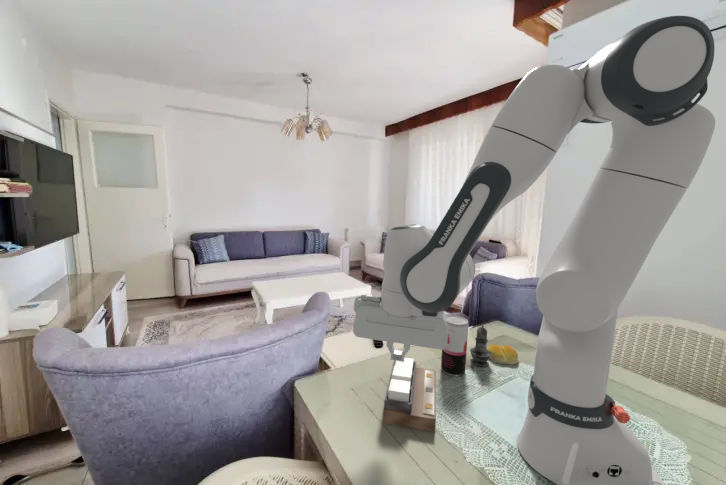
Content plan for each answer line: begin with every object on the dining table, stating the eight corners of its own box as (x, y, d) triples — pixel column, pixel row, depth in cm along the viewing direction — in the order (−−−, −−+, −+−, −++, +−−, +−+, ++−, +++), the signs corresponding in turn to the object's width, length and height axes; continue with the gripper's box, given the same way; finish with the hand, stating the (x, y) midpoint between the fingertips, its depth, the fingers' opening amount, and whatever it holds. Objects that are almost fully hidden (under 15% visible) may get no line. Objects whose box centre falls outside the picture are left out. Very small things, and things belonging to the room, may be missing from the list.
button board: (434, 380, 83) (435, 363, 82) (435, 432, 65) (436, 410, 64) (393, 374, 85) (394, 357, 85) (382, 422, 67) (383, 401, 66)
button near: (410, 391, 71) (410, 381, 70) (408, 404, 67) (408, 393, 66) (390, 388, 72) (391, 378, 71) (388, 400, 68) (388, 390, 67)
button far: (413, 367, 83) (413, 358, 82) (412, 376, 78) (412, 367, 78) (396, 365, 84) (397, 356, 83) (394, 374, 79) (395, 365, 79)
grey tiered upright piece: (486, 358, 95) (490, 321, 93) (492, 369, 89) (496, 329, 87) (467, 357, 95) (469, 320, 94) (471, 367, 90) (474, 328, 88)
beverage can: (470, 373, 87) (473, 322, 84) (451, 378, 84) (454, 326, 82) (454, 362, 93) (457, 314, 90) (436, 366, 90) (439, 317, 88)
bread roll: (483, 350, 100) (484, 338, 100) (513, 354, 99) (514, 342, 98) (488, 363, 92) (489, 351, 92) (520, 367, 91) (522, 355, 90)
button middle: (411, 377, 77) (412, 367, 76) (410, 387, 72) (410, 377, 72) (394, 374, 78) (394, 365, 77) (391, 384, 73) (392, 374, 73)
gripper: (350, 298, 65) (348, 359, 67) (451, 311, 61) (445, 375, 63) (357, 289, 71) (355, 345, 74) (449, 300, 67) (444, 359, 69)
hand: (397, 359), depth 68 cm, fingers closed
